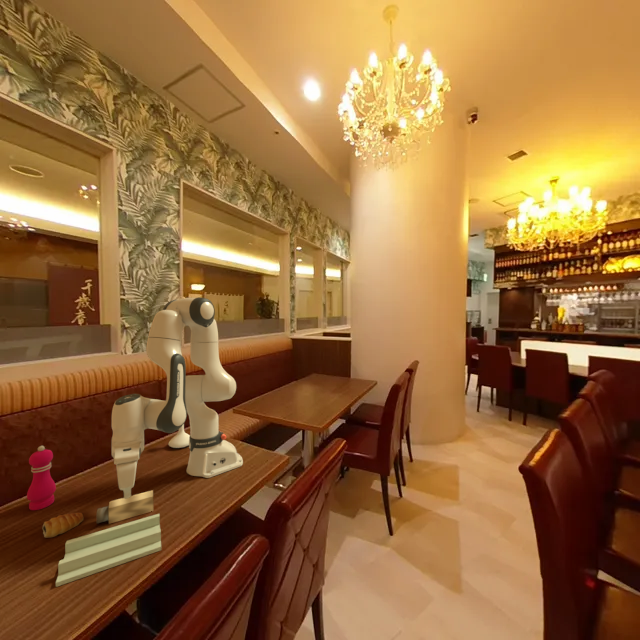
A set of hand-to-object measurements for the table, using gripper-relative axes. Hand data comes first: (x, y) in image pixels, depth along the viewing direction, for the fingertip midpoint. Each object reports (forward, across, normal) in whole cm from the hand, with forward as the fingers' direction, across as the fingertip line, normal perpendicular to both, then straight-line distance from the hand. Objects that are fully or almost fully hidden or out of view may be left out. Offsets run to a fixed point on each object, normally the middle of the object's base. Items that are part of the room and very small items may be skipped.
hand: (128, 489), depth 96 cm
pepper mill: (+8, -21, -26) cm, 34 cm away
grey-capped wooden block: (+8, 0, -1) cm, 8 cm away
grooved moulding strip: (+8, +15, -2) cm, 17 cm away
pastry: (+9, -3, -17) cm, 20 cm away
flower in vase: (+7, -48, +19) cm, 53 cm away
